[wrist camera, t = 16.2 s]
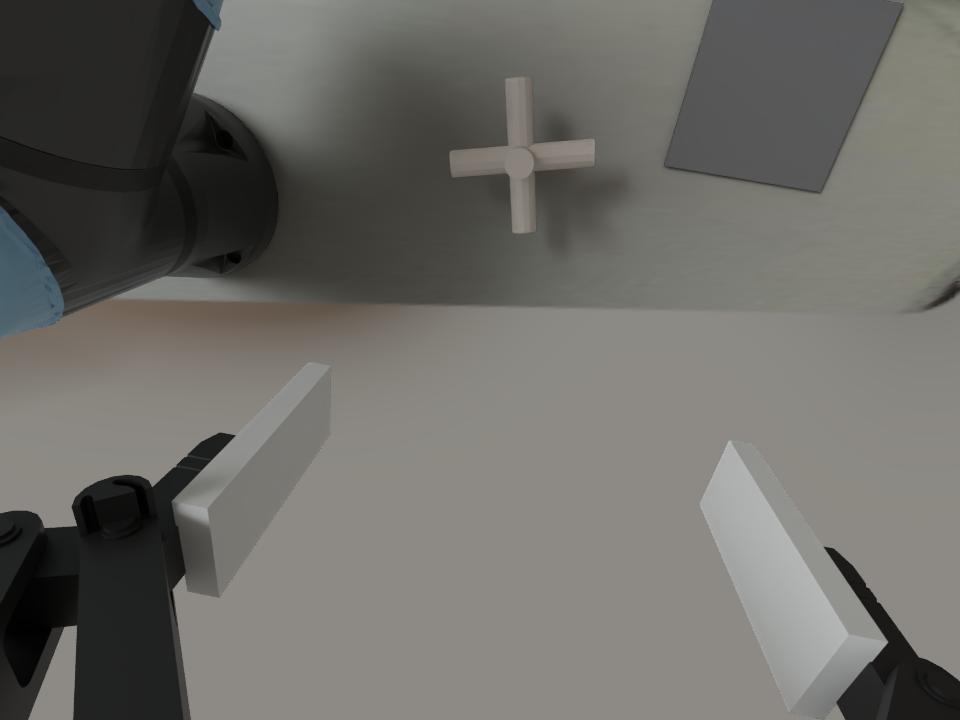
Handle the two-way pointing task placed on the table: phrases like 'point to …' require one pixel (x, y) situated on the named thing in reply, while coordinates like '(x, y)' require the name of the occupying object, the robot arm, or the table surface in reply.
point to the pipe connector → (522, 155)
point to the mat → (778, 87)
